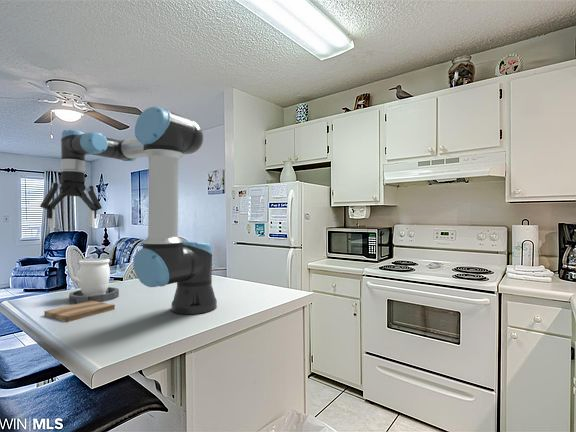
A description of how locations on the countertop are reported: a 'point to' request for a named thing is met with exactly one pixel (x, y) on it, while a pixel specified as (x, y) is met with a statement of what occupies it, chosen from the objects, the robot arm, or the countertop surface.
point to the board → (79, 310)
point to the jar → (94, 276)
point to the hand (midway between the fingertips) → (72, 227)
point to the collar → (79, 298)
